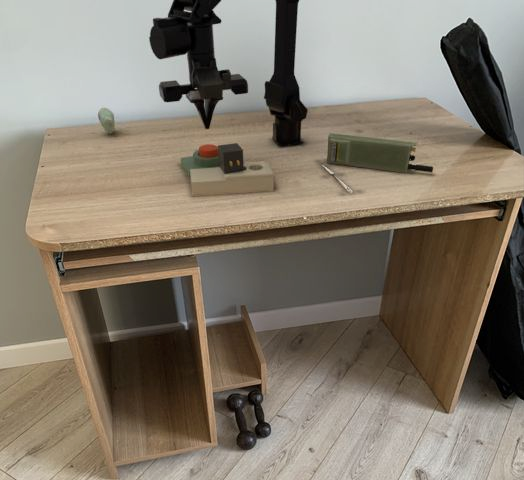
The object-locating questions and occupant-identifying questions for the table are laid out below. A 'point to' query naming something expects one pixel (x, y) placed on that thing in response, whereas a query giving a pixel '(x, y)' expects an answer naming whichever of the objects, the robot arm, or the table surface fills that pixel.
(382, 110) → the table surface
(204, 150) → the switch button
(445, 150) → the table surface
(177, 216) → the table surface
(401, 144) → the handheld radio
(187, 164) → the switch box
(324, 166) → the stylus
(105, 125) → the pale green oval lump
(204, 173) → the electrical outlet
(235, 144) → the charger head
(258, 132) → the table surface
